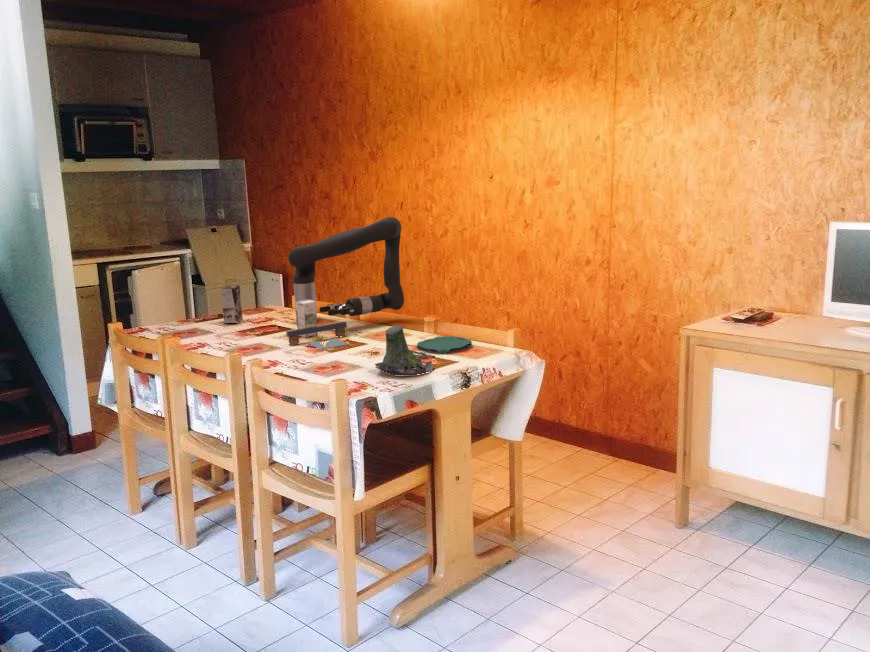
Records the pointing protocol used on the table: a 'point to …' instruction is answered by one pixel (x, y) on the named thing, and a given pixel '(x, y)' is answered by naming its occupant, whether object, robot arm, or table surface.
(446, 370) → the table surface
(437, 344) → the teal irregular flat slab
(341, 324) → the crossbar
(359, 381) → the table surface
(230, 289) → the coffee box
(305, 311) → the syrup box
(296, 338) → the bar stand
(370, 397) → the table surface
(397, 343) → the tree stump
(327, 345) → the slate mat
